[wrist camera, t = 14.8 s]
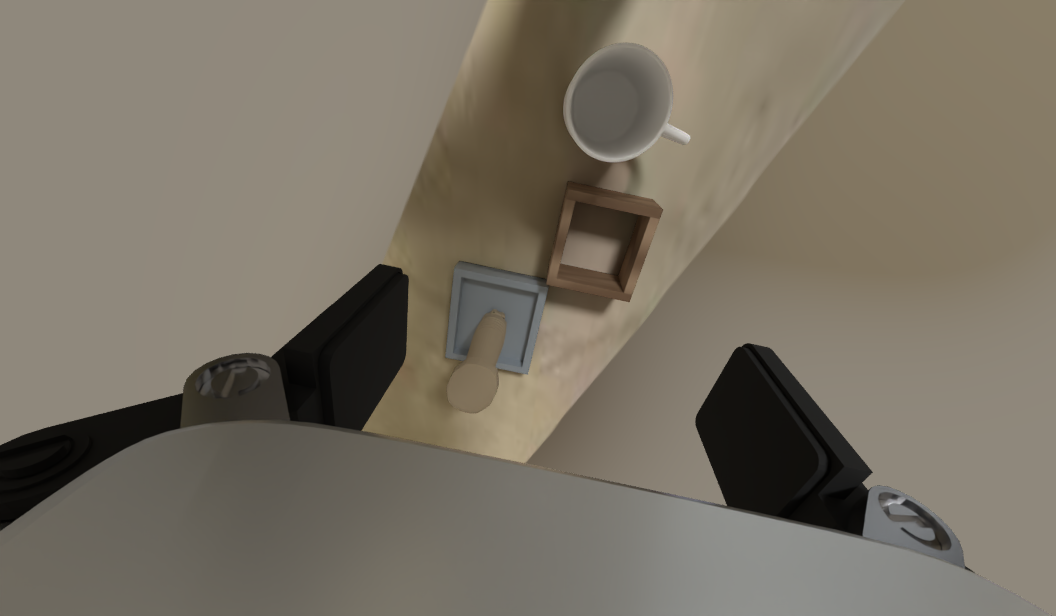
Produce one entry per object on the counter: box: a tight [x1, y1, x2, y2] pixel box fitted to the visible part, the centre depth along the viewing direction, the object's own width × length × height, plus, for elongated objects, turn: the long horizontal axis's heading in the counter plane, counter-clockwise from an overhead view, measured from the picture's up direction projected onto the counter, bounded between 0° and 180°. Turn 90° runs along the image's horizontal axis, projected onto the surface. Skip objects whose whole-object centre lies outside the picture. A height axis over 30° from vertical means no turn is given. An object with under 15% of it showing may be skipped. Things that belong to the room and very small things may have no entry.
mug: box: [563, 43, 690, 162], centre depth 34 cm, size 12×8×12 cm
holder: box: [546, 181, 663, 302], centre depth 43 cm, size 11×10×5 cm
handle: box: [447, 309, 507, 413], centre depth 44 cm, size 5×6×15 cm
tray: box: [445, 261, 549, 375], centre depth 51 cm, size 14×12×2 cm
